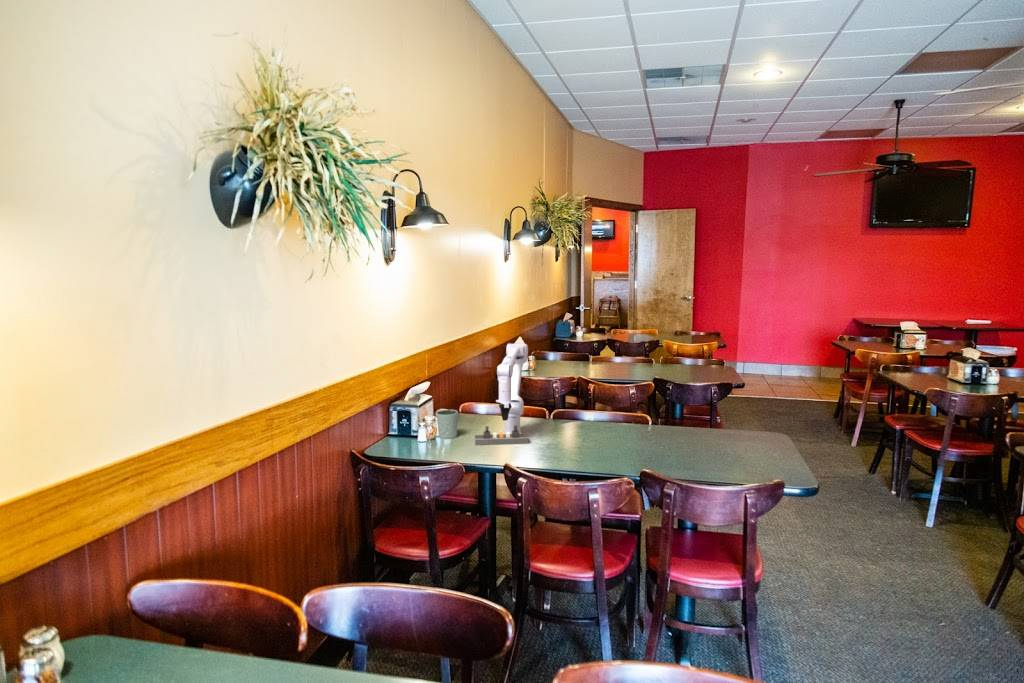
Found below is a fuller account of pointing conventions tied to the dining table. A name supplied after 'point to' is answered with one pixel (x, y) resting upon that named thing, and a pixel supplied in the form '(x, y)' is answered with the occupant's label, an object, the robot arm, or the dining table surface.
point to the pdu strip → (501, 440)
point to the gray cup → (447, 423)
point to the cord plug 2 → (515, 432)
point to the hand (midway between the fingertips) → (505, 420)
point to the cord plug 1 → (487, 432)
